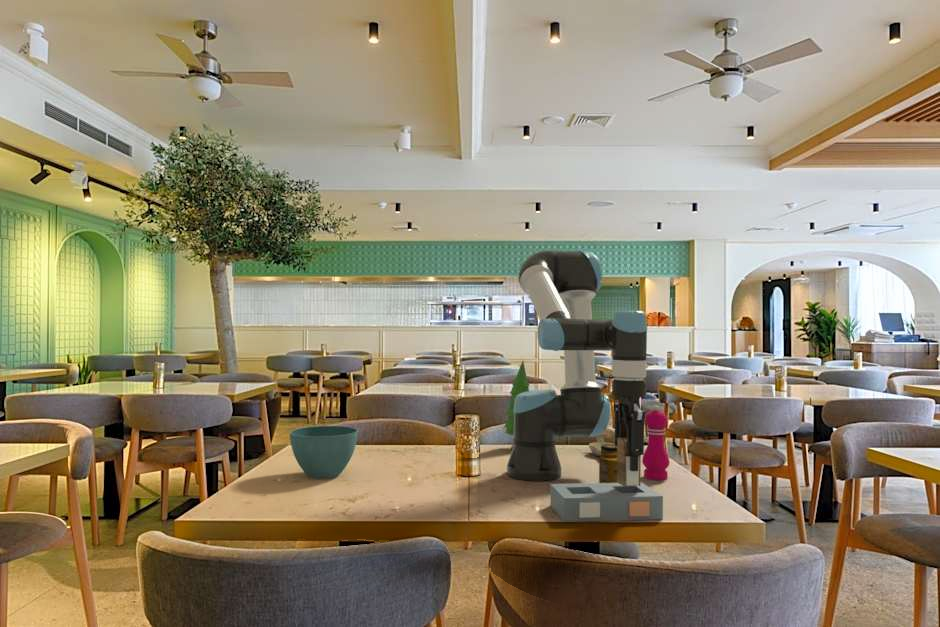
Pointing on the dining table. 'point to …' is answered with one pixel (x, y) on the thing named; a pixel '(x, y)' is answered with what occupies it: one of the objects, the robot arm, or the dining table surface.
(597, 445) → the oil lamp
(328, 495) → the dining table surface
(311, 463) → the plant pot
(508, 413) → the decorative tree
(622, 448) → the plug
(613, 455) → the condiment
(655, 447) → the pepper mill
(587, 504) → the socket block
